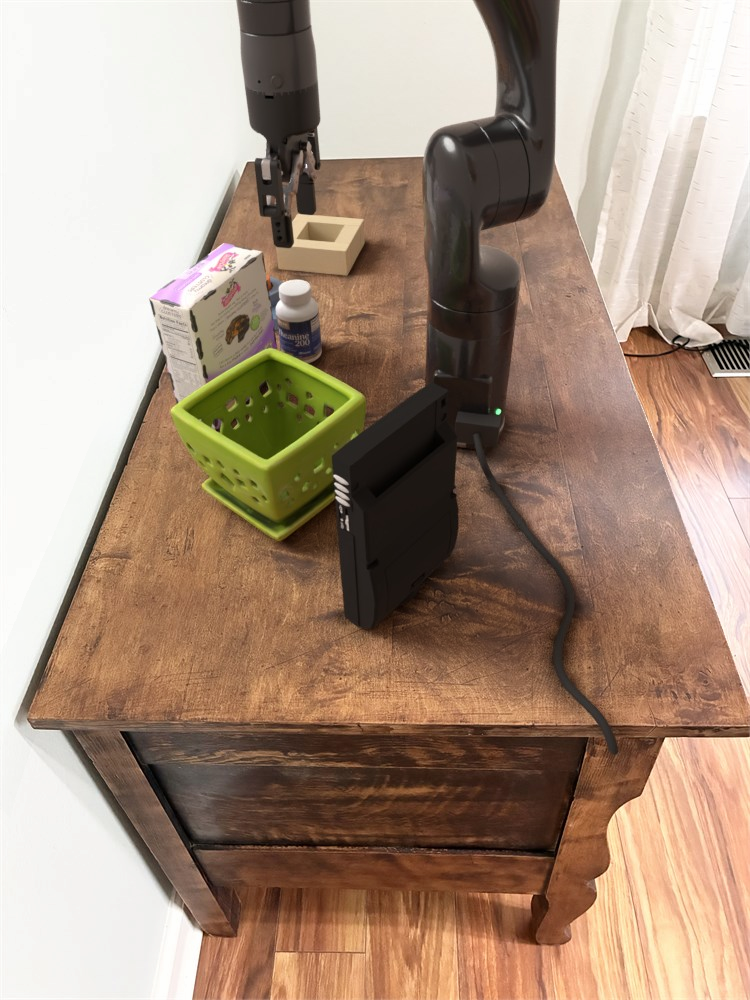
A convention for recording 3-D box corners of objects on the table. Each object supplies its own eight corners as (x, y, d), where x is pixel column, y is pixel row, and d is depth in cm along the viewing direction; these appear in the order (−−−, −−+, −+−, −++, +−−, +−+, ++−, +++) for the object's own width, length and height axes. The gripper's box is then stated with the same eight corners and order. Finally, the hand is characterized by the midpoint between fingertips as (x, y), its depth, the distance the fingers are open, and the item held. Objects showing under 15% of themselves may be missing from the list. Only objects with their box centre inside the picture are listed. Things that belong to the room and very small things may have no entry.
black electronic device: (421, 543, 75) (426, 378, 61) (458, 565, 73) (472, 399, 59) (339, 618, 69) (323, 453, 55) (377, 645, 67) (370, 481, 52)
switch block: (278, 330, 104) (275, 307, 101) (223, 324, 105) (219, 301, 103) (299, 293, 111) (297, 271, 108) (248, 288, 112) (245, 266, 110)
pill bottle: (275, 362, 98) (265, 295, 91) (290, 340, 102) (282, 274, 95) (314, 368, 97) (307, 300, 90) (327, 346, 101) (322, 279, 94)
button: (267, 295, 104) (265, 284, 103) (245, 293, 105) (243, 282, 104) (274, 284, 106) (273, 273, 105) (253, 282, 107) (251, 271, 106)
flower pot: (190, 501, 80) (163, 406, 71) (283, 436, 87) (270, 342, 78) (282, 565, 73) (265, 469, 64) (375, 489, 81) (371, 393, 72)
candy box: (244, 359, 99) (223, 239, 87) (282, 370, 97) (265, 250, 85) (178, 418, 90) (145, 294, 79) (217, 432, 88) (189, 307, 77)
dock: (347, 275, 114) (346, 251, 111) (278, 269, 116) (275, 244, 113) (364, 243, 122) (363, 218, 119) (299, 237, 124) (297, 213, 121)
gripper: (269, 55, 82) (285, 201, 94) (219, 98, 73) (244, 255, 84) (335, 58, 81) (343, 206, 92) (293, 102, 71) (308, 261, 83)
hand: (296, 229), depth 88 cm, fingers open, 8 cm apart
